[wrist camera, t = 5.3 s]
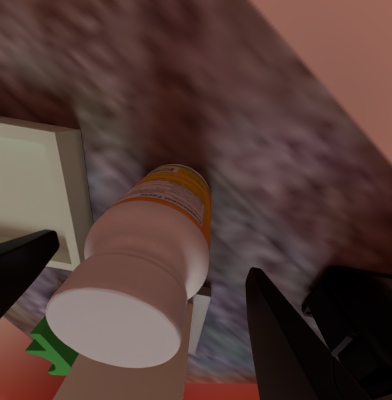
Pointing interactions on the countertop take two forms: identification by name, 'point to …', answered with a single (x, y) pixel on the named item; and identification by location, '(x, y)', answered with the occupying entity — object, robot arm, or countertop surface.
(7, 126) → the tray
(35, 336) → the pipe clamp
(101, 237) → the supplement bottle
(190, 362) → the countertop surface
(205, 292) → the plain beige box
